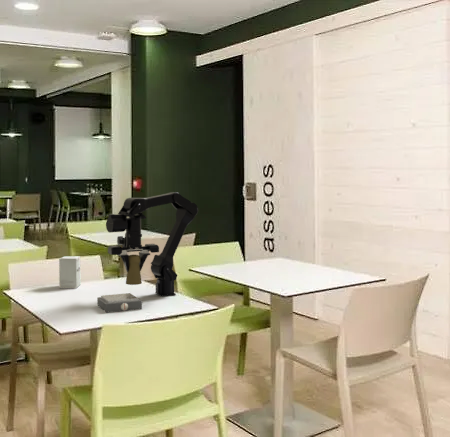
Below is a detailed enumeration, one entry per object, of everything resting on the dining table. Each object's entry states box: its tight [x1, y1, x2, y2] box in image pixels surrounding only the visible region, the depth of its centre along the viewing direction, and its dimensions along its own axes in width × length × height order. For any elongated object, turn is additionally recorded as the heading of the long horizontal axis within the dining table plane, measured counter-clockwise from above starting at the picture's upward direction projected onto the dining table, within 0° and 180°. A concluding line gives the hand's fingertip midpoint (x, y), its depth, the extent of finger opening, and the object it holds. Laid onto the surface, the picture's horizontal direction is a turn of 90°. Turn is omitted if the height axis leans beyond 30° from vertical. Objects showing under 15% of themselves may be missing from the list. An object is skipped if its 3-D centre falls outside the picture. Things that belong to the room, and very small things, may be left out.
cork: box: [125, 254, 143, 286], centre depth 236 cm, size 6×6×11 cm
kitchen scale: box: [97, 292, 143, 313], centre depth 223 cm, size 13×12×4 cm
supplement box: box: [58, 255, 81, 289], centre depth 259 cm, size 7×7×13 cm
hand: (133, 271), depth 236 cm, fingers closed on cork, 4 cm apart
